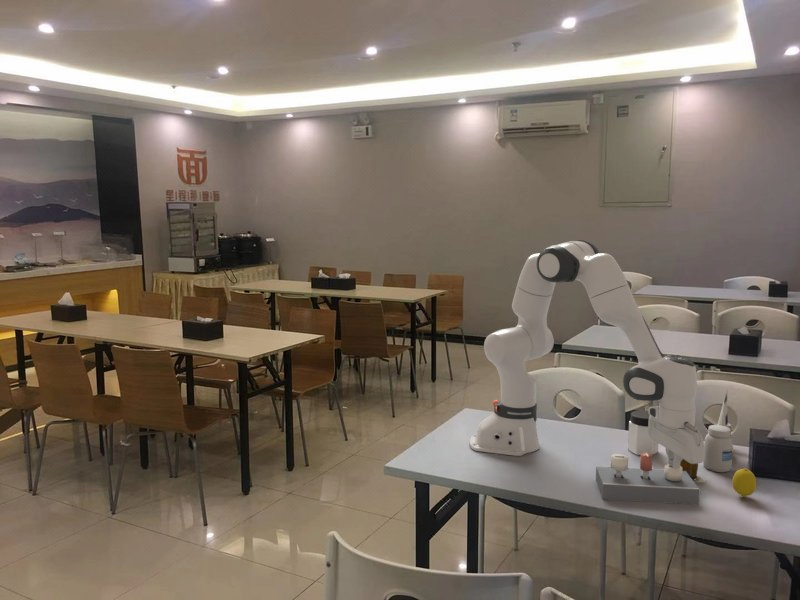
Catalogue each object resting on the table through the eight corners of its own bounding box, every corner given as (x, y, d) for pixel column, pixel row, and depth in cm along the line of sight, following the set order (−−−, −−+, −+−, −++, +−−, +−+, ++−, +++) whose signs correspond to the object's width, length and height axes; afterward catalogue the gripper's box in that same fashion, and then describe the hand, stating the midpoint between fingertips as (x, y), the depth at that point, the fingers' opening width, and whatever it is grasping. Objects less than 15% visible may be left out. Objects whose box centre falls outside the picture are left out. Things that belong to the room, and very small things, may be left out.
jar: (649, 458, 196) (650, 420, 194) (623, 451, 201) (625, 414, 200) (661, 450, 202) (663, 414, 200) (637, 444, 207) (638, 408, 206)
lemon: (728, 492, 172) (730, 463, 171) (749, 492, 172) (751, 464, 171) (736, 501, 167) (738, 472, 166) (758, 502, 166) (761, 473, 165)
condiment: (692, 470, 187) (694, 430, 185) (706, 482, 179) (708, 441, 177) (667, 470, 187) (669, 431, 185) (680, 482, 179) (682, 441, 177)
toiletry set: (730, 475, 183) (735, 406, 180) (701, 470, 187) (705, 402, 184) (736, 447, 204) (741, 384, 201) (710, 442, 208) (714, 381, 205)
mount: (602, 499, 169) (603, 484, 168) (595, 479, 181) (596, 465, 180) (698, 504, 165) (699, 489, 165) (685, 484, 177) (685, 470, 177)
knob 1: (611, 484, 172) (612, 459, 171) (608, 477, 176) (609, 453, 175) (628, 485, 171) (629, 460, 170) (625, 478, 176) (626, 453, 174)
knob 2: (665, 494, 170) (667, 469, 169) (661, 487, 174) (662, 462, 173) (683, 495, 169) (684, 470, 168) (678, 488, 174) (679, 463, 173)
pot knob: (640, 485, 171) (642, 456, 170) (638, 480, 174) (639, 451, 173) (652, 485, 171) (653, 456, 170) (649, 480, 174) (651, 452, 173)
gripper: (712, 429, 159) (709, 481, 161) (665, 404, 179) (663, 451, 181) (689, 430, 158) (686, 483, 160) (644, 405, 178) (642, 453, 180)
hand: (673, 466), depth 171 cm, fingers closed, pressing on knob 2
